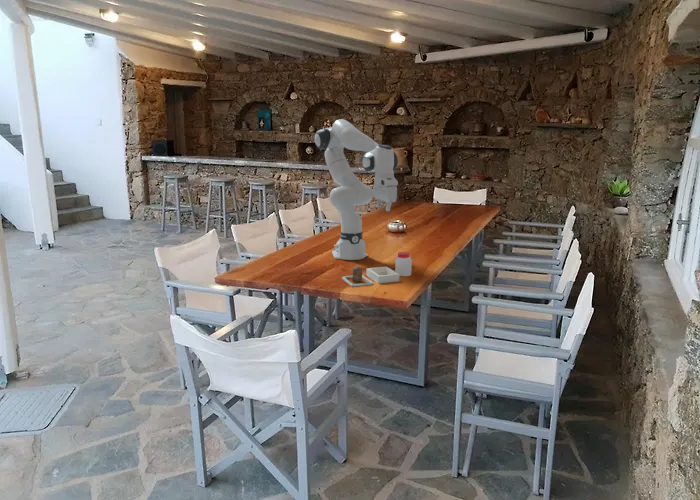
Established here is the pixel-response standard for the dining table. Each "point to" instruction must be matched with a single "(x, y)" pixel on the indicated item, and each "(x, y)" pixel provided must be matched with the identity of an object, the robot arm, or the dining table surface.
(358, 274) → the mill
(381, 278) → the white storage bin
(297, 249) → the dining table surface
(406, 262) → the pill bottle
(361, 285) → the tray
